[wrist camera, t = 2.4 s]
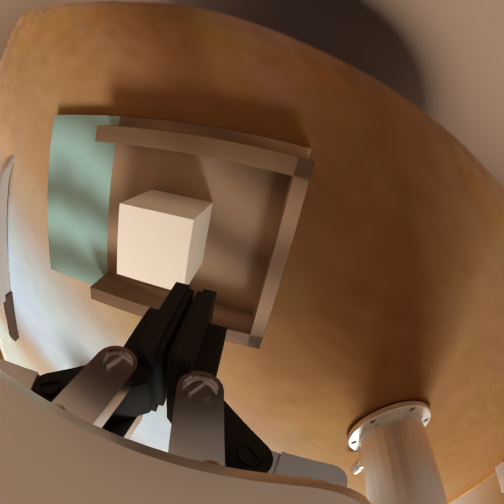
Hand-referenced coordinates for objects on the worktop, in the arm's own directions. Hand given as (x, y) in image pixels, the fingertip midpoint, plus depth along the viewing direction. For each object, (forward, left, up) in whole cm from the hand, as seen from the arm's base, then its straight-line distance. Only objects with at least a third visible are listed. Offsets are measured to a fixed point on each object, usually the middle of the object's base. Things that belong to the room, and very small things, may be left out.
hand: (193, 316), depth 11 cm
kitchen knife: (-11, +30, -12) cm, 34 cm away
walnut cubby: (0, +7, -12) cm, 14 cm away
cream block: (0, +4, -11) cm, 12 cm away
